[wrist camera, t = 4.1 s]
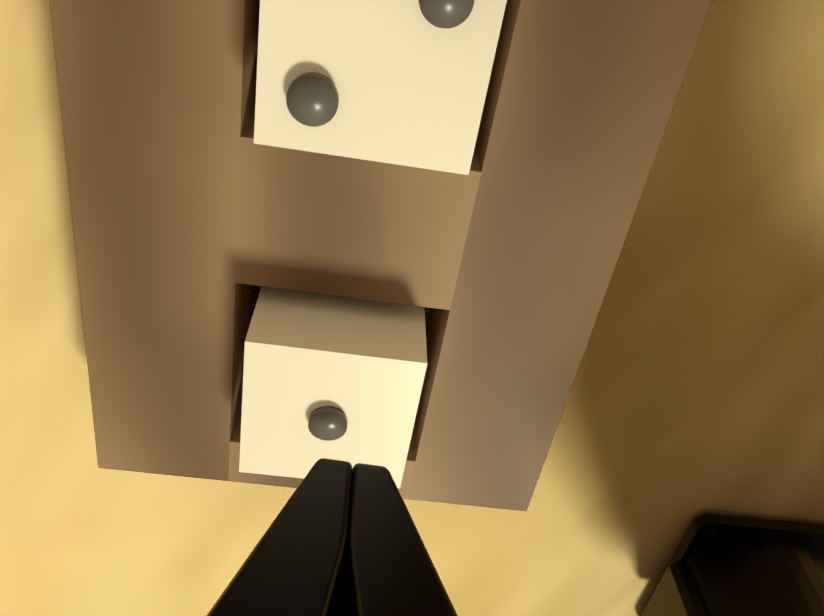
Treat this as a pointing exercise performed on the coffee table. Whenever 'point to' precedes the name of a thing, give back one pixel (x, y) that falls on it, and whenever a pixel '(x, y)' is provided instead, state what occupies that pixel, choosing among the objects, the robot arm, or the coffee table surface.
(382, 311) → the button one
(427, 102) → the button two
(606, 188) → the button panel
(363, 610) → the robot arm
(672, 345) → the coffee table surface
